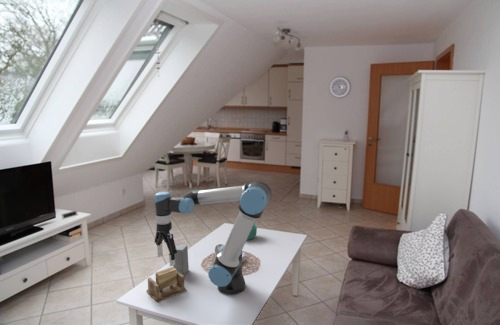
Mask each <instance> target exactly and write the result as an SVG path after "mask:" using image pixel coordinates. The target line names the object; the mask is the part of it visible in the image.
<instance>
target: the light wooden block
mask: <svg viewBox="0 0 500 325" xmlns="http://www.w3.org/2000/svg"><path fill="white" fill-rule="evenodd" d="M155 282H156V283H157V284H158V285H159V290H161V289H163V288H166V287H169V286H171V285H174V284H176V283H177V271H176V269H175V268H174V267H173V266H170V267H168V268H165V269H162V270H159V271H156V272H155Z"/></svg>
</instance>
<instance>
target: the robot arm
mask: <svg viewBox="0 0 500 325" xmlns="http://www.w3.org/2000/svg"><path fill="white" fill-rule="evenodd" d="M272 196H273V192H272V188H271V186H270V185H269V184H268V183H267V182H265V181H252V182H247V183H246V182H245V183H244V184H243V185H237V186H236V185H235V186H226V187H219V188H217V187H216V188H209V189H200V190H199V189H192V190H189V191H188V192H186V193H185V194H183V195H181V196H180V197H179V196H177V197H174V196H171V193H170V192H169V191H159V192H157V193H155V195H154V205H155V221H156V230H155V231H156V233H155V237H154V243H155V245H156V252H157V254H156V255H157V258H160V257H161V258H162V257H163V256H164V254H163V241H164V243H165V245H166V247H167V249H168V252H169V254H168V260H169V262H168V263H169V267H173V265H175V254H176V253H177V250H176V246H177V245H176V243H175V240H174V234H173V233H170V232H171V230H172V229H173V224H172V213H179V214H191V213H192V212H193V210H194V206H200V205H208V204H217V203H218V204H219V203H229V202H239V205H238V207H237V209H238V212H239V213H238V214H237V217H236V219H235V221H234V223H233V225H232V229H231V230H230V233H229V235H228V238H227V240H226V242H225V244H224V246H222V247H220V251H219V252H218V253H217V255H216V257H215V259H214V262H213V264H212V265H211V266H210V267H209V269H208V273H207V274H208V275H207V276H208V278H209V280H210V282H211V283H212V284H213V285H214V286H216V287H217V290H218V291H219V292H220V293H222V294H225V295H238V294H241V293H243V292H244V290H245V289H246V281H245V278H244V275H243V274H244V273H243V254H244V253H243V249H244V247H245V245H246V242H247V238H248V236H249V234H250V232H251V229H252V227H253V225H254V224H255V223H256V220H258V219H261V217H262V215H263V213H264V211H265V209H266V207H267V204H268V203H269V202H270V201H271V198H272Z"/></svg>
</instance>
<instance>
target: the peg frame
mask: <svg viewBox="0 0 500 325" xmlns="http://www.w3.org/2000/svg"><path fill="white" fill-rule="evenodd" d="M176 271H177V270H176ZM185 291H187V287H185V275H184V276H183V275H182V274H181V273H179V272H178V271H177V283H176V284H174V285H171V286H169V287H166V288H163V289H161V290H159V285H158V284H157V283H156V280H155V281H154V279H152V278H151V277H148V278H147V289H146V293H147V294H148V295H149V296H150V298H152V299H153V300H154V301H155V302H156V303H158V302H160V301H164V300H166V299H169V298H170V297H173V296H175V295H179V294H182V293H183V292H185Z"/></svg>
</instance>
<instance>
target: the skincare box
mask: <svg viewBox="0 0 500 325" xmlns="http://www.w3.org/2000/svg"><path fill="white" fill-rule="evenodd" d="M175 246H176V250H177V253H176V254H175V265H173V266H172V267H174V268H175V269H176V270H177V271H178V272H179V273H181V274H182V275H183V276H184V277H185V275H186V274H187V272H188V271H189V270H190V269H189V268H190V267H189V253H188V252H189V251H188V250H189V249H188V245H187V244H177V245H175Z"/></svg>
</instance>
